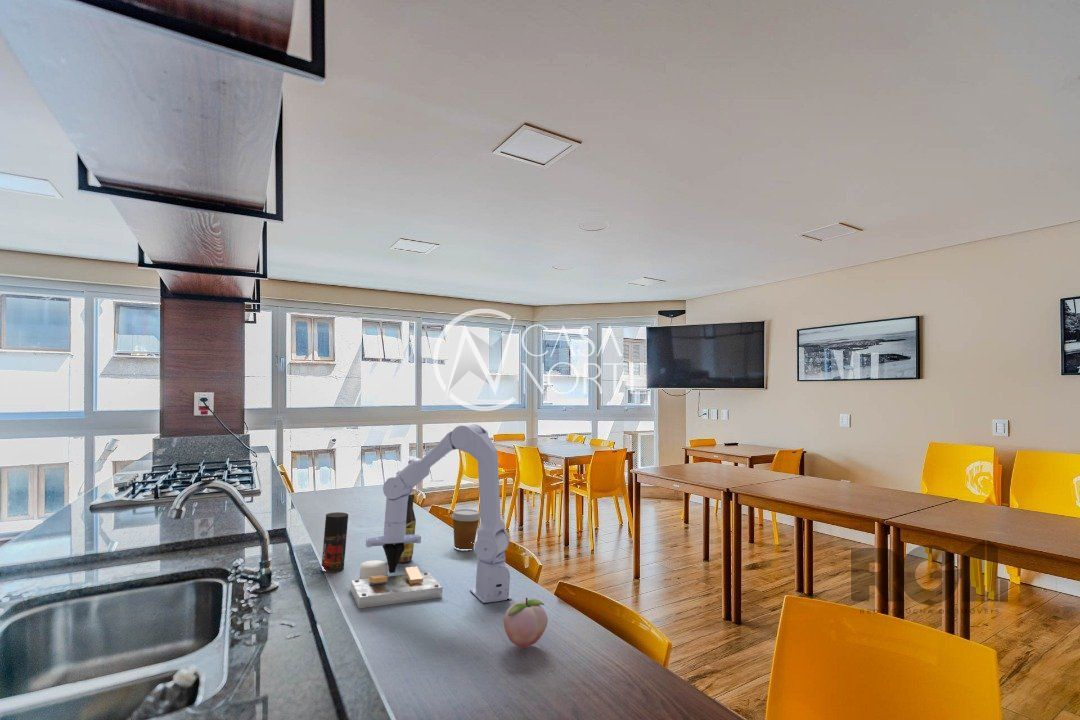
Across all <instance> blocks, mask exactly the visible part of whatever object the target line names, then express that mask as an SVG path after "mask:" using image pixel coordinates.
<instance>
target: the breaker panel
mask: <svg viewBox="0 0 1080 720" xmlns="http://www.w3.org/2000/svg"><path fill="white" fill-rule="evenodd" d="M420 573H421V575H422V577H423V582H420V583H412V584H410V582H409V580H408V578H407V575H406V573H405V574H398V575H396V574H395V575H389V576H388V575H387V582H378V583H373V582H371V581H369V578H368V579H353V580H352V579H351V581H350V592H351V596H352V598H353V599H354V602H355V604H356V606H357V609H366V608H372V607H373V608H374V607H381V606H387V605H395V604H402V603H409V602H416V601H417V602H418V601H425V600H433V599H438V598H439V599H441V598H443V586H442V584H440V582H438V580H437V579H436V578H435V577H434V576H433V575H432V574H431V572H429V571H425V572H420Z"/></svg>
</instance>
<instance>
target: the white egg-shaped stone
mask: <svg viewBox="0 0 1080 720" xmlns="http://www.w3.org/2000/svg"><path fill="white" fill-rule="evenodd" d="M374 575H384V576H386V577H387V576H388V562H386V561H385V560H377V559H376V560H367V561H364V562H361V563H360V567H359V577H358V578H359V579H368V578H369V576H374ZM359 579H358V580H359Z"/></svg>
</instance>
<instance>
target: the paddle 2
mask: <svg viewBox="0 0 1080 720" xmlns="http://www.w3.org/2000/svg"><path fill="white" fill-rule="evenodd" d="M404 573H405V574H406V575H407V578H408V580H409V582H410V584H412V583H420V582H423V577H422V575H421V573H422V572H421V571H420V570H419V567H418V566H417V565H415V566H406V567H404Z"/></svg>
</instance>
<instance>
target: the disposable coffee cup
mask: <svg viewBox="0 0 1080 720" xmlns="http://www.w3.org/2000/svg"><path fill="white" fill-rule="evenodd" d="M451 518H452V521H453V523H452V524H453V526H452V527H453V546H455V547H456V548H459V549H473V548H474V549H475V543H476V539H477V532H478V528H479V527H478V525H479V520H481V519H480V510H476V509H472V508H471V509H469V508H459V509H454V511H453V513H452V514H451ZM471 542H472V543H471ZM473 543H474V544H473ZM474 549H473V550H474Z"/></svg>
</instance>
